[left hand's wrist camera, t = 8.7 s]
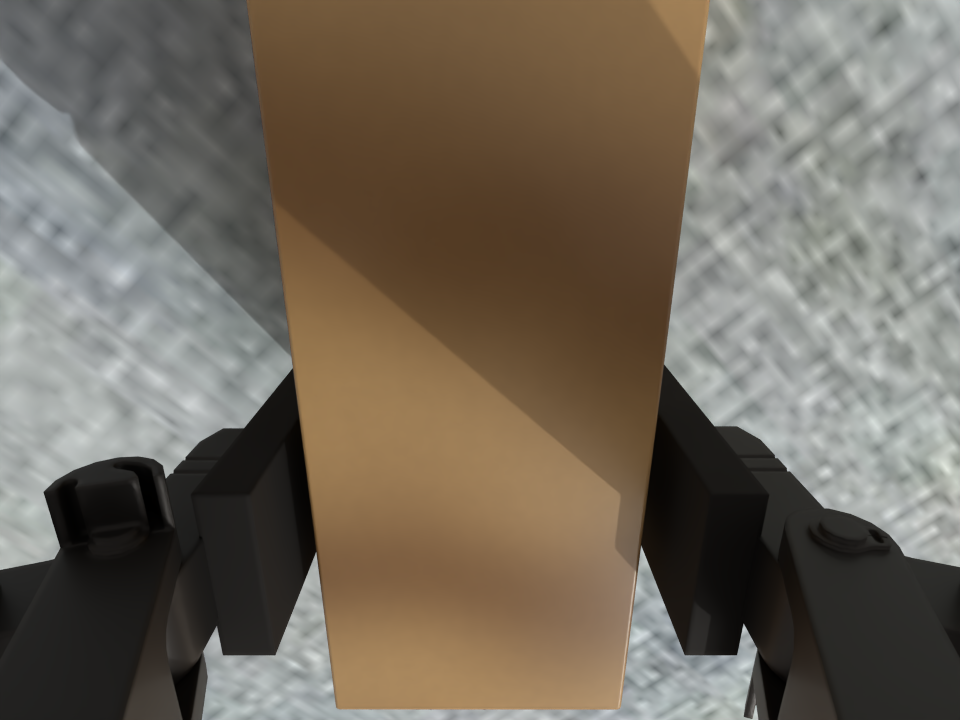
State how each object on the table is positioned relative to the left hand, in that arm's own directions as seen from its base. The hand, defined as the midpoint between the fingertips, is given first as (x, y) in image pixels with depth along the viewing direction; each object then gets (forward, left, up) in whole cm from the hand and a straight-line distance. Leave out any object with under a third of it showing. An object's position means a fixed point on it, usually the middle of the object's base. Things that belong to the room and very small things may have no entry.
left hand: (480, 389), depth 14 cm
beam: (-4, +36, -2) cm, 36 cm away
